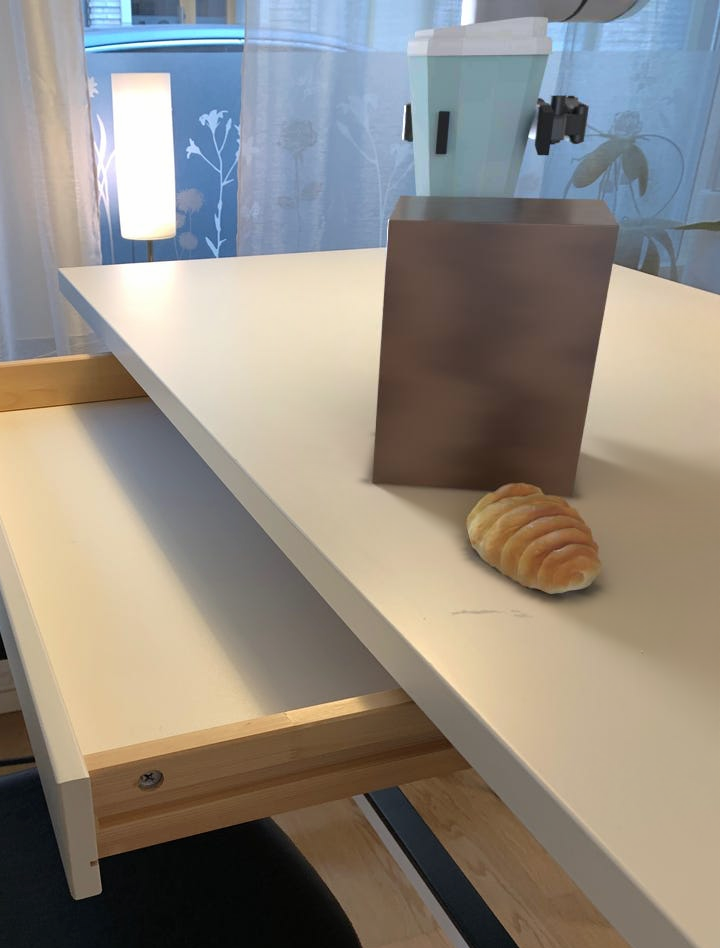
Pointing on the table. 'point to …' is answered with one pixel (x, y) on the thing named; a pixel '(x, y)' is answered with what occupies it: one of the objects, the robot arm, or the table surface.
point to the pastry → (534, 539)
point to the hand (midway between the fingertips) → (493, 133)
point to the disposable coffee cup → (475, 103)
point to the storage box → (490, 340)
